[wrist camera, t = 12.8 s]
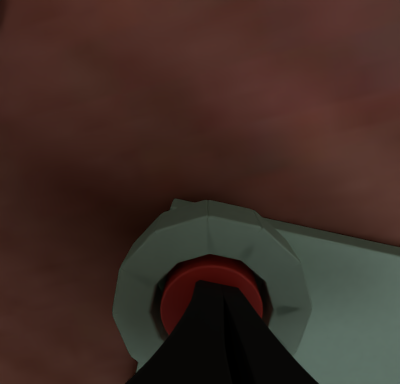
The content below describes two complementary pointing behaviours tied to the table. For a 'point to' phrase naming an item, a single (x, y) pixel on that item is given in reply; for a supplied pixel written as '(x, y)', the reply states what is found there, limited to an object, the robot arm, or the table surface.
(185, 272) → the button
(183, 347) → the robot arm
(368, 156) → the table surface
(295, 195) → the table surface
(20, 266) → the table surface
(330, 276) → the drain block
